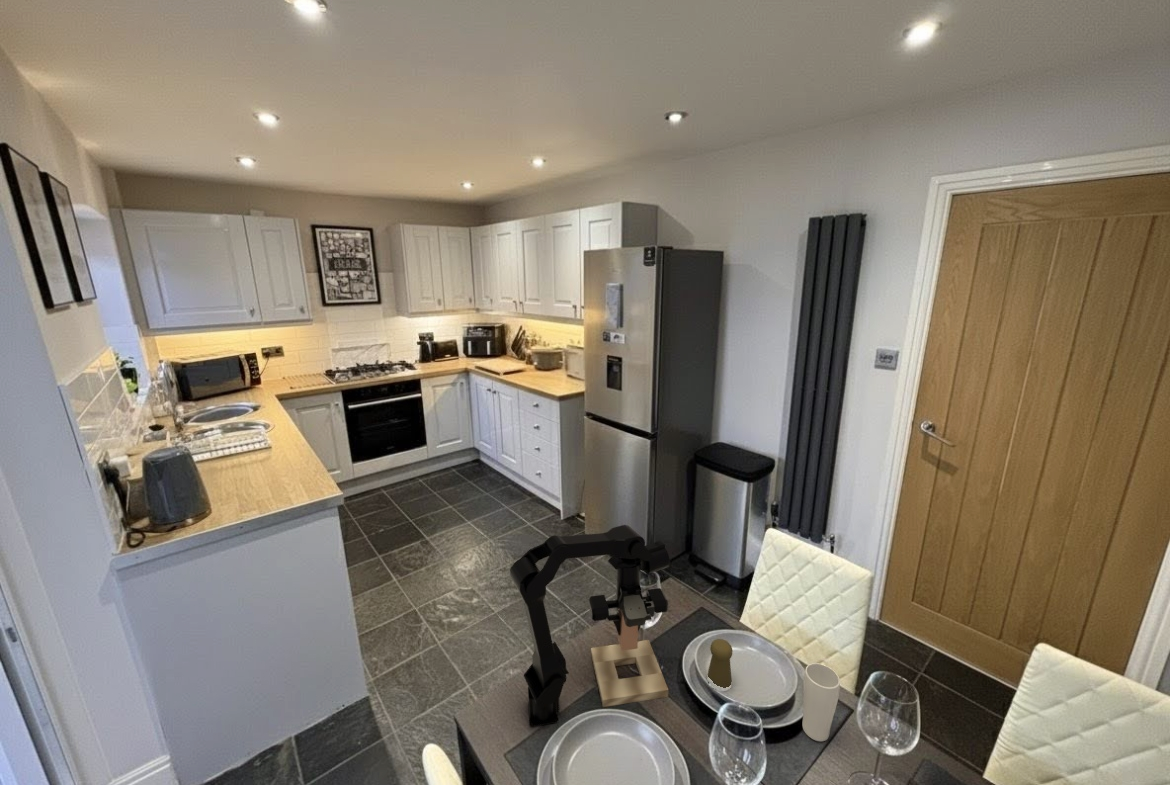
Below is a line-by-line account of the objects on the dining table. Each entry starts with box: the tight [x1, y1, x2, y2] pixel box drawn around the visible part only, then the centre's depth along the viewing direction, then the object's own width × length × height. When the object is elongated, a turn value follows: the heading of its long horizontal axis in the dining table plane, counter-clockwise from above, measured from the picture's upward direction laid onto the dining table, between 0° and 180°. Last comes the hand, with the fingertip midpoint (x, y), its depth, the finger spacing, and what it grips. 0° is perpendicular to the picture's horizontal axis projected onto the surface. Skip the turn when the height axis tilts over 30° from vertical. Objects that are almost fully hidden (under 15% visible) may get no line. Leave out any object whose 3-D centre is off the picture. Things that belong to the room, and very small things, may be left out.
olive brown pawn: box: [707, 638, 733, 688], centre depth 113 cm, size 6×6×11 cm
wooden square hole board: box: [590, 639, 669, 708], centre depth 117 cm, size 16×16×2 cm
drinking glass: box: [802, 662, 841, 742], centre depth 100 cm, size 7×7×15 cm
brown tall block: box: [617, 610, 639, 651], centre depth 114 cm, size 4×4×10 cm
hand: (627, 633), depth 114 cm, fingers closed on brown tall block, 4 cm apart
